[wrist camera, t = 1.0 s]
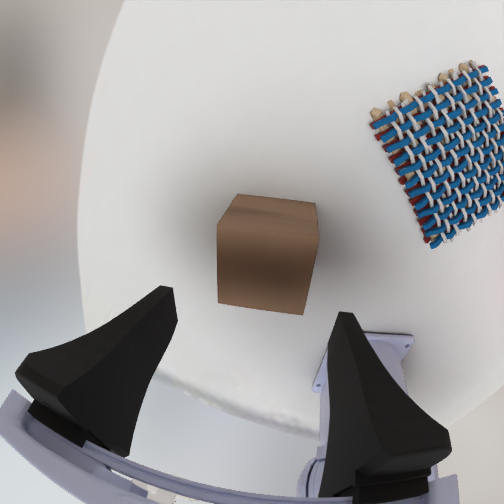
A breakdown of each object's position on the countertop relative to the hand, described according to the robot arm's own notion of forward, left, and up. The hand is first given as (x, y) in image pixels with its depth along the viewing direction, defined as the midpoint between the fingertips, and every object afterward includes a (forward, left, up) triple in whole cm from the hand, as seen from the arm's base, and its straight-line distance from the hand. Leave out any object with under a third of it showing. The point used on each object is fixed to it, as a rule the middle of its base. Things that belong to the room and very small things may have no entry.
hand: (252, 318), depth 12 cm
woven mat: (+8, -12, -9) cm, 17 cm away
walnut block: (0, 0, -8) cm, 8 cm away
